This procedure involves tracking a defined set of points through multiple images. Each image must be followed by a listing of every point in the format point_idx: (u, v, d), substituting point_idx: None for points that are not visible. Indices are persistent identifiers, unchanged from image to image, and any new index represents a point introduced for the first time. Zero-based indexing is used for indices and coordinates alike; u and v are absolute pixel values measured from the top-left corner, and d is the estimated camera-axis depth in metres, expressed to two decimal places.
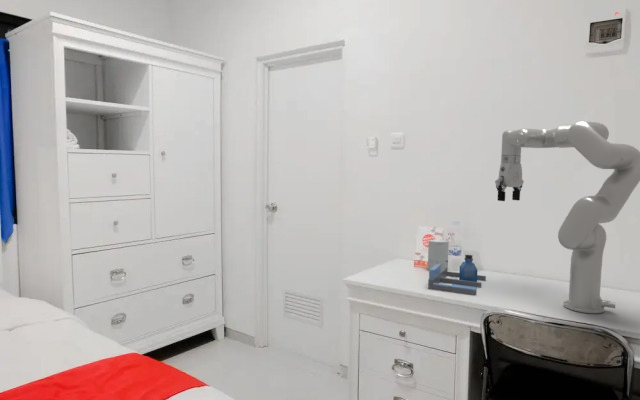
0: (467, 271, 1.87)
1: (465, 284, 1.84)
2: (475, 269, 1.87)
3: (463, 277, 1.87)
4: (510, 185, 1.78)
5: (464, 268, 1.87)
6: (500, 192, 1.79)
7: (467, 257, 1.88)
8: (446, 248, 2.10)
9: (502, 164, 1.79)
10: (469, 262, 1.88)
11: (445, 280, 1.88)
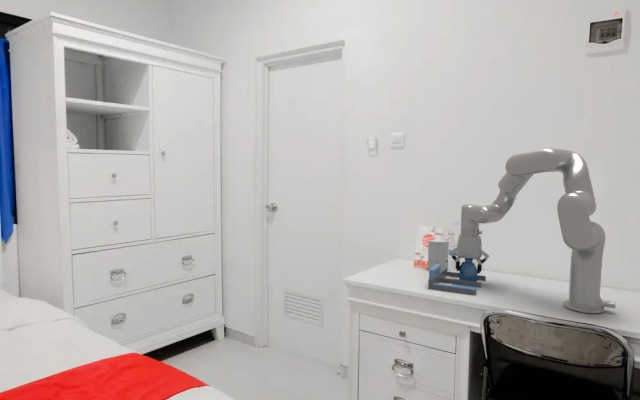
0: (467, 271, 1.87)
1: (465, 284, 1.84)
2: (475, 269, 1.87)
3: (463, 277, 1.87)
4: None
5: (464, 268, 1.87)
6: (481, 265, 1.87)
7: None
8: (446, 248, 2.10)
9: (479, 238, 1.86)
10: (469, 262, 1.88)
11: (445, 280, 1.88)
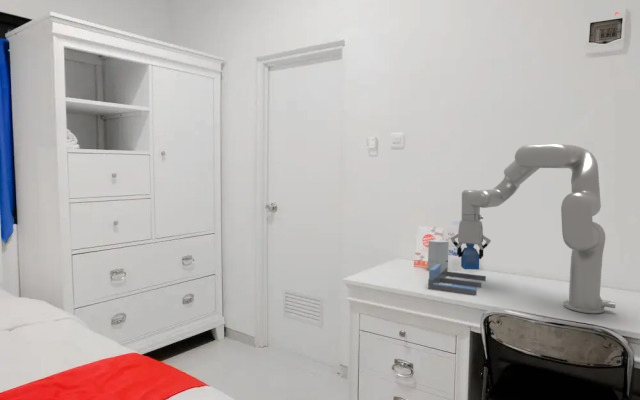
0: (469, 257, 1.86)
1: (465, 284, 1.84)
2: (477, 254, 1.86)
3: (465, 262, 1.86)
4: None
5: (466, 253, 1.86)
6: None
7: None
8: (446, 248, 2.10)
9: (480, 223, 1.86)
10: (471, 247, 1.87)
11: (445, 280, 1.88)
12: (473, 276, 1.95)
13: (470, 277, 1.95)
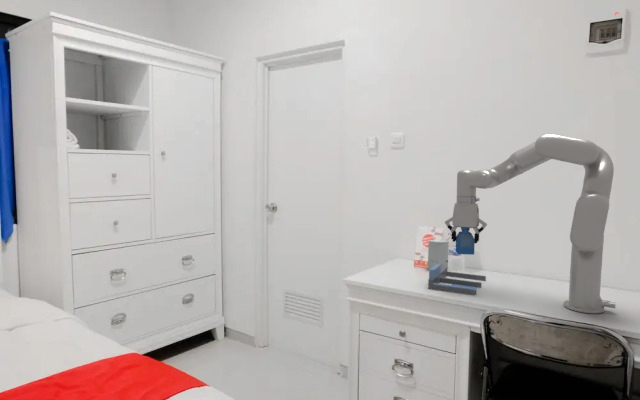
0: (464, 241, 1.76)
1: (465, 284, 1.84)
2: (472, 238, 1.75)
3: (459, 247, 1.76)
4: None
5: (460, 237, 1.76)
6: (478, 234, 1.76)
7: None
8: (446, 248, 2.10)
9: (476, 205, 1.75)
10: (466, 231, 1.77)
11: (445, 280, 1.88)
12: (473, 276, 1.95)
13: (470, 277, 1.95)
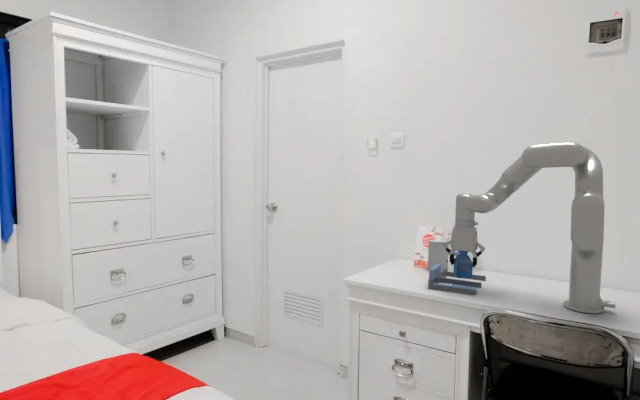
0: (462, 265, 1.75)
1: (465, 284, 1.84)
2: (470, 262, 1.75)
3: (457, 271, 1.76)
4: None
5: (458, 261, 1.76)
6: (476, 258, 1.76)
7: None
8: None
9: (475, 229, 1.74)
10: (464, 255, 1.77)
11: (445, 280, 1.88)
12: (473, 276, 1.95)
13: None
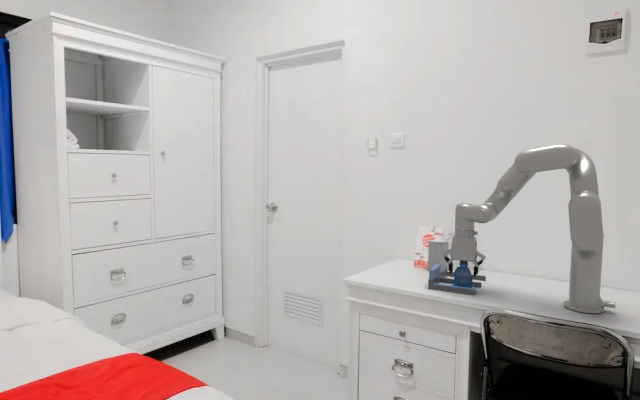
0: (462, 277, 1.75)
1: None
2: (470, 275, 1.75)
3: (457, 283, 1.76)
4: None
5: (458, 273, 1.76)
6: None
7: (462, 262, 1.77)
8: (446, 248, 2.10)
9: (474, 239, 1.75)
10: (464, 267, 1.77)
11: (445, 280, 1.88)
12: (473, 276, 1.95)
13: None
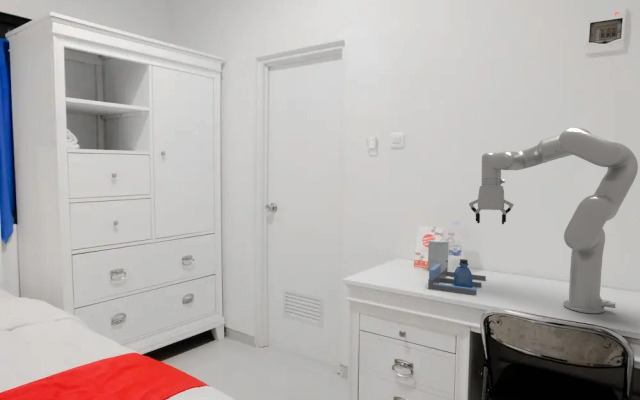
0: (462, 277, 1.75)
1: None
2: (470, 275, 1.75)
3: (457, 283, 1.76)
4: None
5: (458, 273, 1.76)
6: (505, 215, 1.77)
7: (462, 262, 1.77)
8: (446, 248, 2.10)
9: (502, 187, 1.76)
10: (464, 267, 1.77)
11: (445, 280, 1.88)
12: (473, 276, 1.95)
13: None
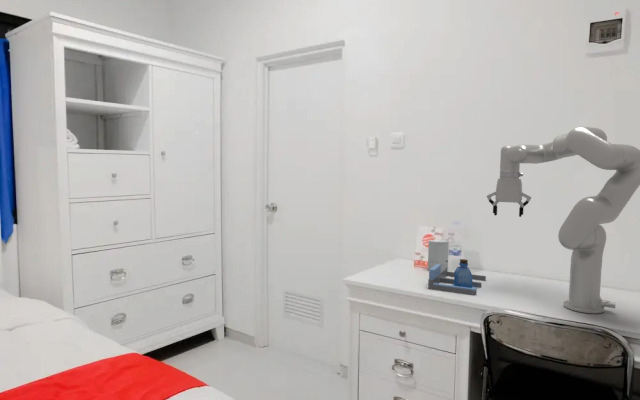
0: (462, 277, 1.75)
1: None
2: (470, 275, 1.75)
3: (457, 283, 1.76)
4: None
5: (458, 273, 1.76)
6: None
7: (462, 262, 1.77)
8: (446, 248, 2.10)
9: (520, 180, 1.78)
10: (464, 267, 1.77)
11: (445, 280, 1.88)
12: (473, 276, 1.95)
13: None
